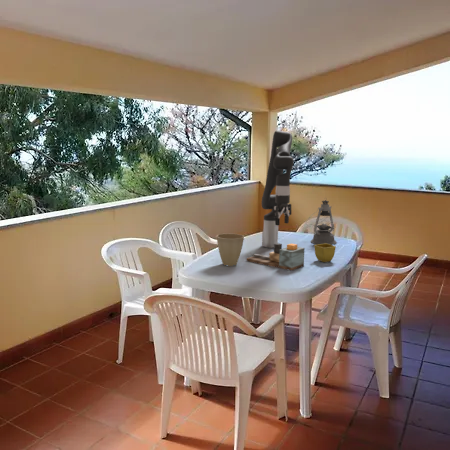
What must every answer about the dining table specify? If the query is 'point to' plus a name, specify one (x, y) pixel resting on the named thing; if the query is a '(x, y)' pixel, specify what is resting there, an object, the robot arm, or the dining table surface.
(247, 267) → the dining table surface
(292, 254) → the rail rig
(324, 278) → the dining table surface
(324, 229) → the lantern
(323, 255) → the flower pot
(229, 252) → the plant pot
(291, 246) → the button
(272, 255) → the carriage
